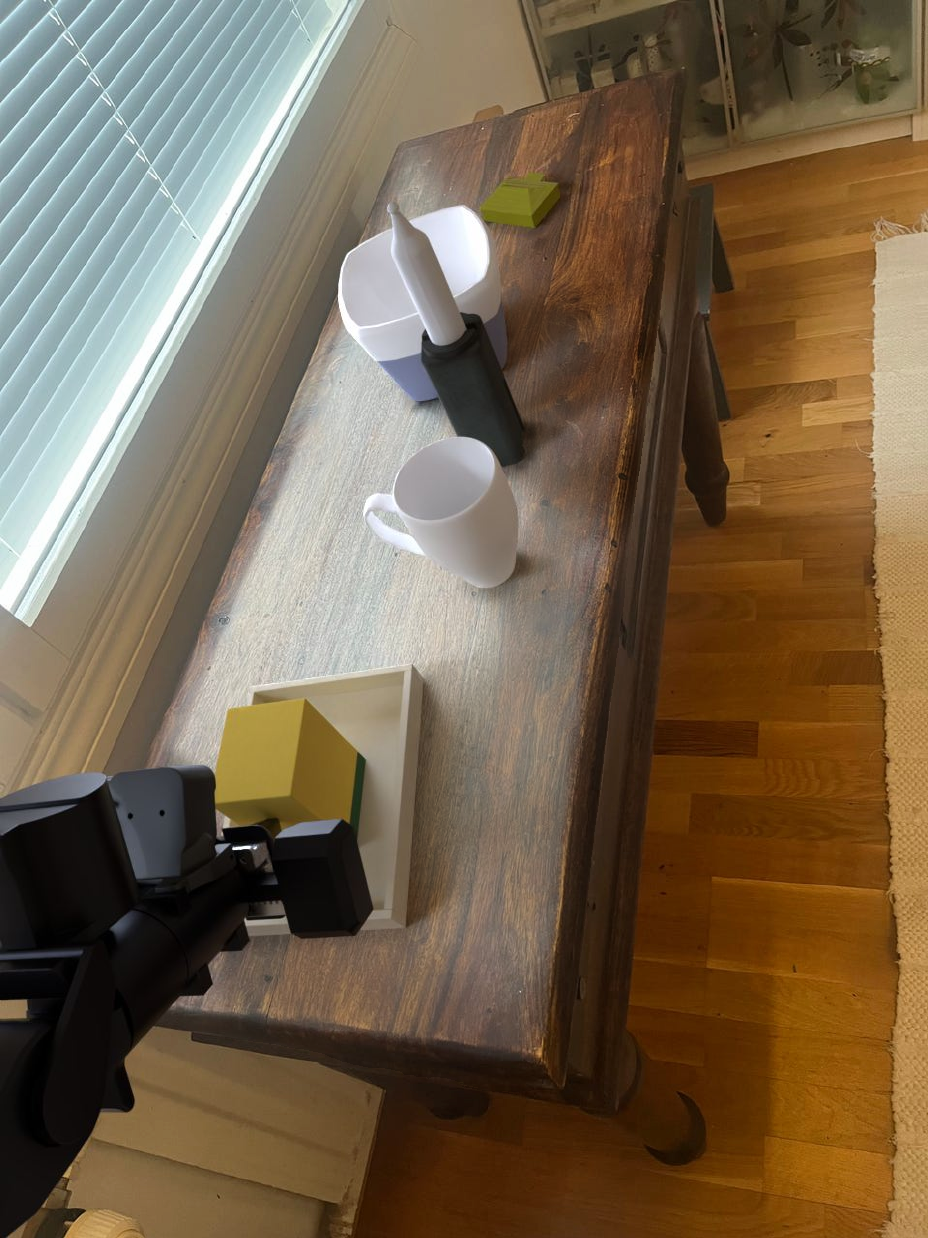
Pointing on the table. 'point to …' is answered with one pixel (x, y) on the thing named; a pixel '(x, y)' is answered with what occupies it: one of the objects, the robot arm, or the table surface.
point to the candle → (457, 350)
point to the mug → (453, 511)
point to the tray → (368, 774)
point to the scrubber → (286, 767)
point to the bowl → (387, 309)
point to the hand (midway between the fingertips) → (275, 825)
